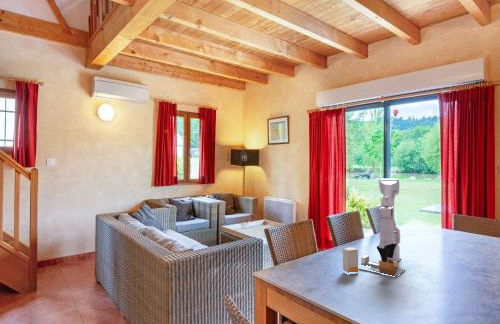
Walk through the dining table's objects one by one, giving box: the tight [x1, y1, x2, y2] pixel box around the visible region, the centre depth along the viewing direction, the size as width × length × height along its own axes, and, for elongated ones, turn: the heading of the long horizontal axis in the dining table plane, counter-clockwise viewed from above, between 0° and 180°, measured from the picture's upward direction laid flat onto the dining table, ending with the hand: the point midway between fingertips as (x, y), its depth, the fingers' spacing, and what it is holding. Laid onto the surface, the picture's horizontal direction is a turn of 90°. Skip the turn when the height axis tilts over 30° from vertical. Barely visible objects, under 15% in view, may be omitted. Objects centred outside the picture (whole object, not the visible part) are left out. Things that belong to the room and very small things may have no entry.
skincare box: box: [342, 246, 359, 273], centre depth 144 cm, size 6×4×12 cm
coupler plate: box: [360, 254, 406, 278], centre depth 148 cm, size 12×19×5 cm, turn 45°
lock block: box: [378, 259, 399, 273], centre depth 145 cm, size 7×5×4 cm, turn 45°
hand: (387, 259), depth 145 cm, fingers open, 7 cm apart
